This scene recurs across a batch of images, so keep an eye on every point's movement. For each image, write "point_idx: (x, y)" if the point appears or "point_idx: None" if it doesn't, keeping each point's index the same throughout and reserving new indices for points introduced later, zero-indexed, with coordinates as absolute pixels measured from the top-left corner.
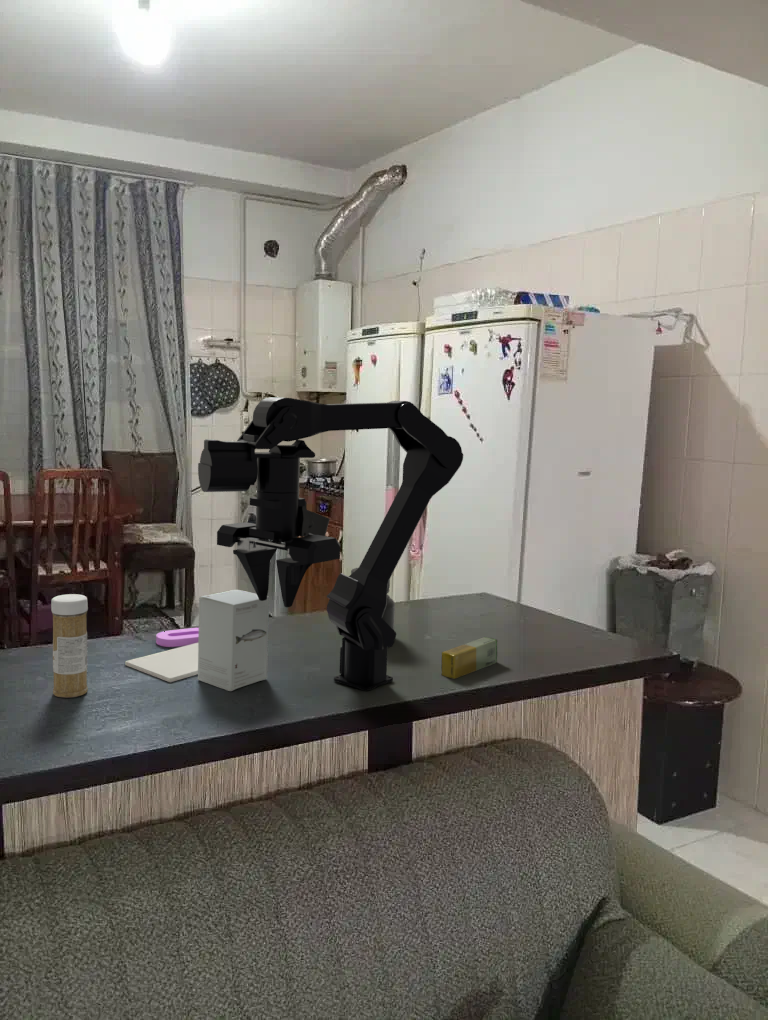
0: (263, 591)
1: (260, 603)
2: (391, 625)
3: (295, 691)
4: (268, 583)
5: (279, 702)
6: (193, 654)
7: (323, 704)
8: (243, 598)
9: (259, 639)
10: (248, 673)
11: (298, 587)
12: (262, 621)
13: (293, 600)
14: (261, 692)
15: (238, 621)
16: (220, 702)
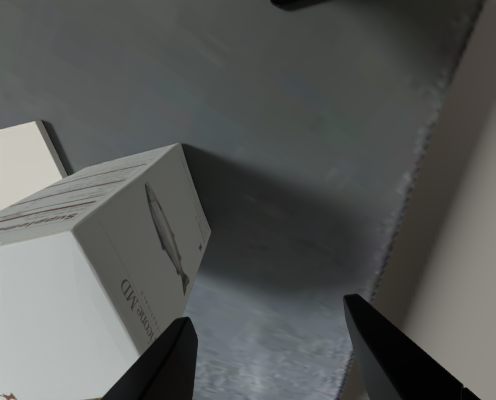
0: (184, 368)
1: (112, 269)
2: None
3: (275, 129)
4: (157, 377)
5: (307, 188)
6: None
7: (374, 123)
8: (82, 333)
9: (162, 204)
10: (194, 203)
11: (438, 366)
12: (137, 218)
13: (376, 312)
14: (242, 188)
15: (171, 320)
16: (246, 265)
